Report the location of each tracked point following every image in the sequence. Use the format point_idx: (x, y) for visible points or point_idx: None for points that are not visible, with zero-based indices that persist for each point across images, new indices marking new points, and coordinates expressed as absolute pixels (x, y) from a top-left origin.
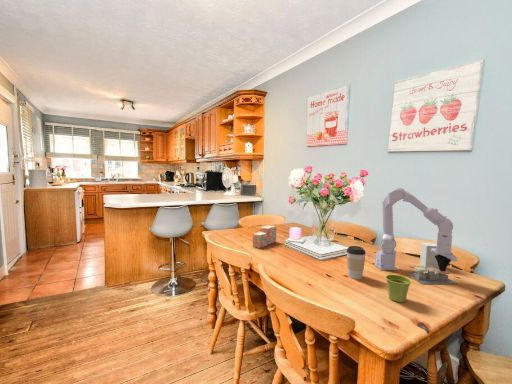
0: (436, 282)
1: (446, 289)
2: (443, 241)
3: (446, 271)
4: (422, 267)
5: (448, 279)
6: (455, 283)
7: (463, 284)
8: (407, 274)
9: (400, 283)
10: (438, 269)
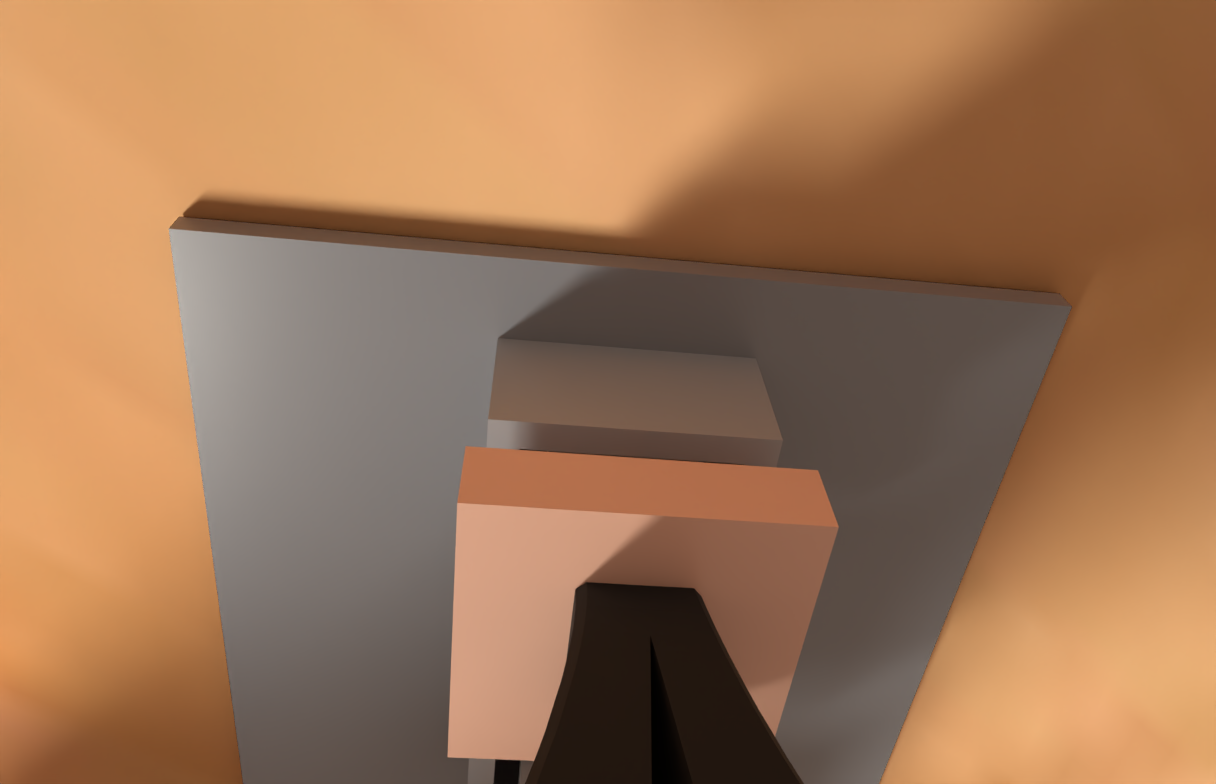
0: (839, 747)
1: (1142, 740)
2: None
3: (742, 576)
4: None
5: (741, 333)
6: (1043, 364)
7: (1140, 89)
8: None
9: None
10: (497, 695)
